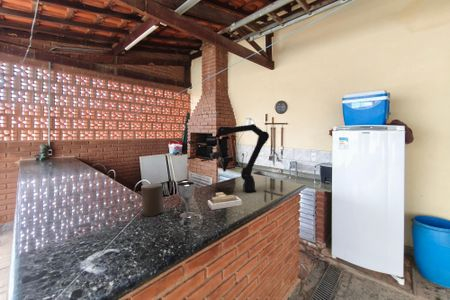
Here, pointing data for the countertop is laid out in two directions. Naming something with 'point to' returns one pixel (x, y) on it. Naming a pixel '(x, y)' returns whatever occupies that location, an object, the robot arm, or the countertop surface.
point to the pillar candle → (152, 199)
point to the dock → (225, 204)
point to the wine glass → (186, 196)
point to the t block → (223, 198)
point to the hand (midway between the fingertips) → (224, 171)
